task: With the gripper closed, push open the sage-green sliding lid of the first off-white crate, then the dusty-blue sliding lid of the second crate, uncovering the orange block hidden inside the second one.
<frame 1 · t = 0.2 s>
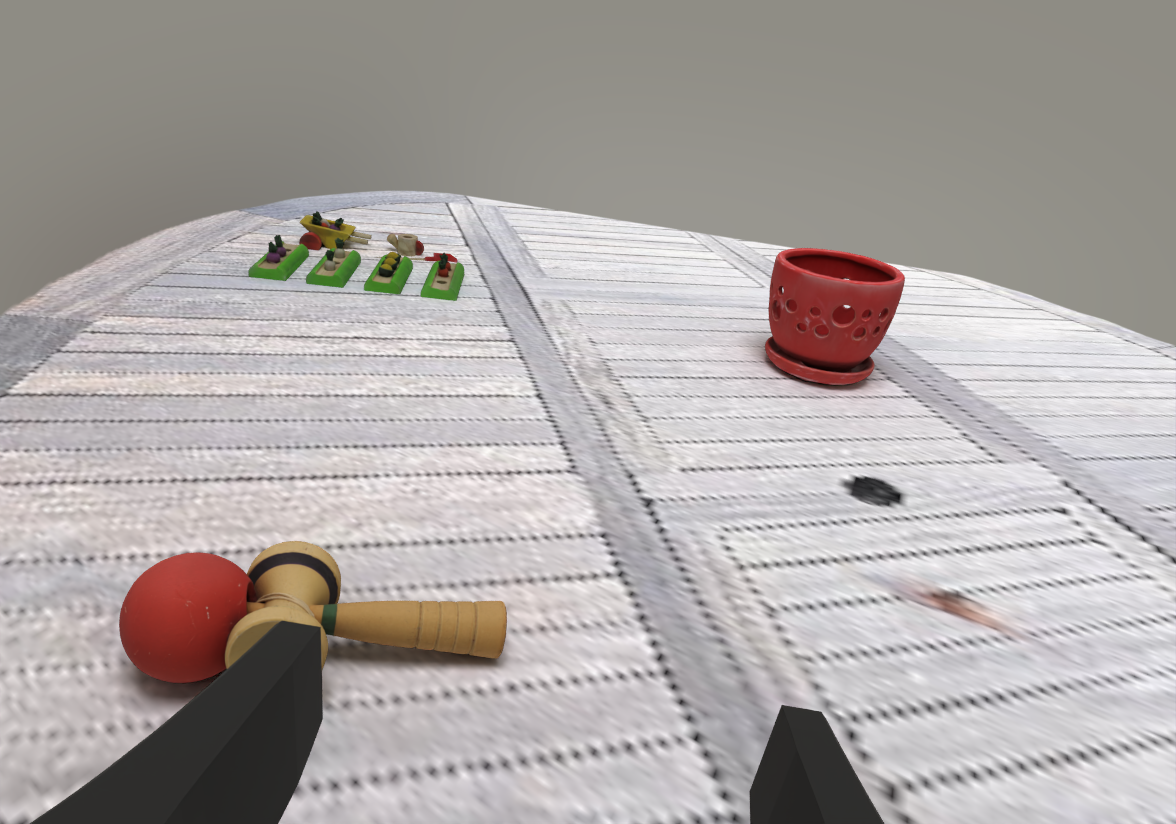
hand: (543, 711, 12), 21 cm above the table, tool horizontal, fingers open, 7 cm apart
kendama: (326, 658, 41), on the table
toy garden set: (369, 270, 97), on the table
plant pot: (810, 369, 87), on the table
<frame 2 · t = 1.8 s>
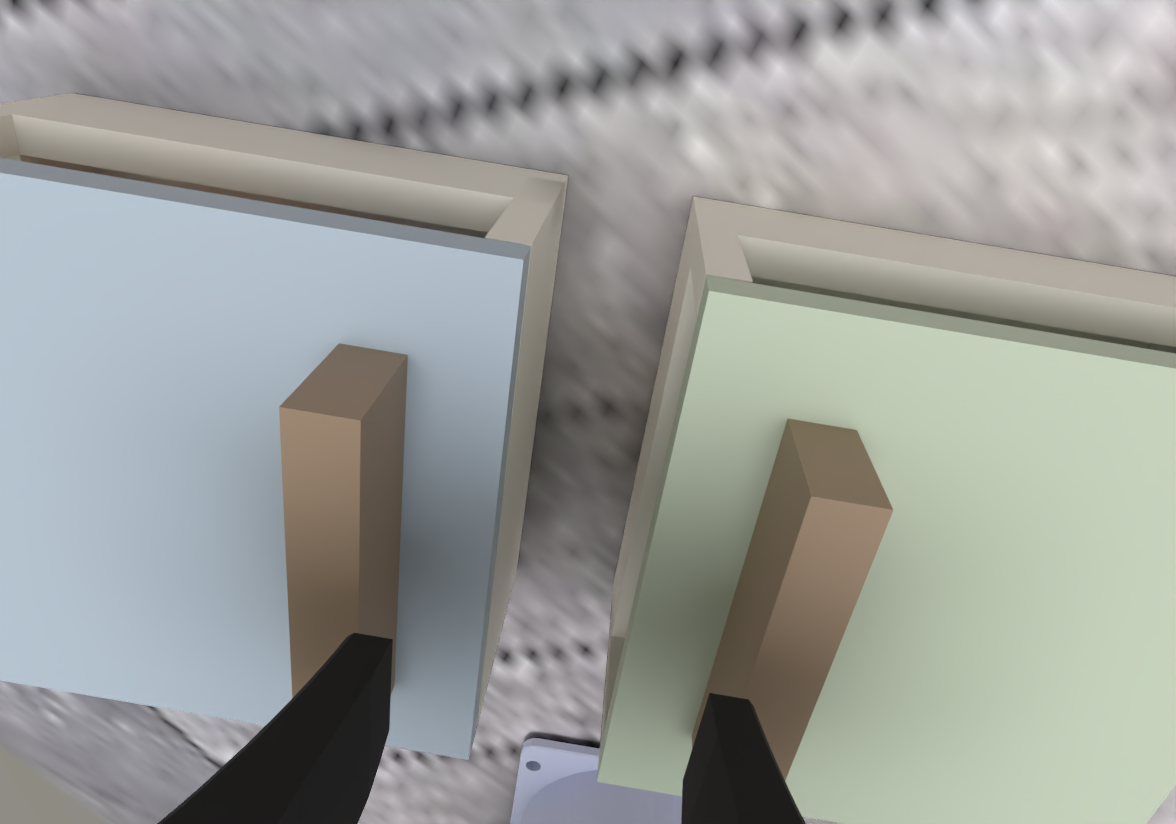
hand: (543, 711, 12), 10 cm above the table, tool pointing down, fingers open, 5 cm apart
crate b: (322, 361, 22), on the table
lid b: (166, 528, 15), point 8 cm above the table, slide at 0.0 cm
crate a: (865, 452, 21), on the table
lid a: (960, 663, 15), point 8 cm above the table, slide at 0.0 cm
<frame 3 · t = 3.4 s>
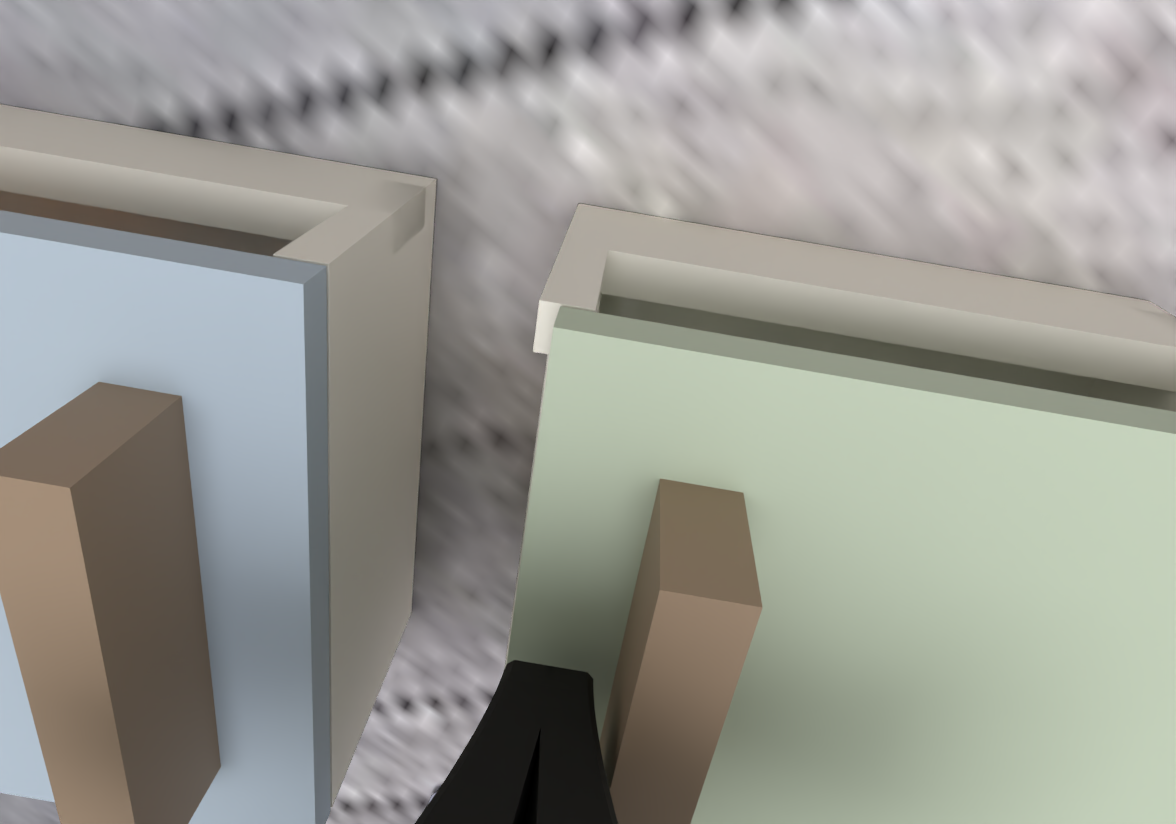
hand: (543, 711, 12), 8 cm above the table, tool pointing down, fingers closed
crate b: (179, 385, 19), on the table
crate a: (786, 490, 19), on the table
lid a: (875, 763, 12), point 8 cm above the table, slide at 0.3 cm, touching gripper
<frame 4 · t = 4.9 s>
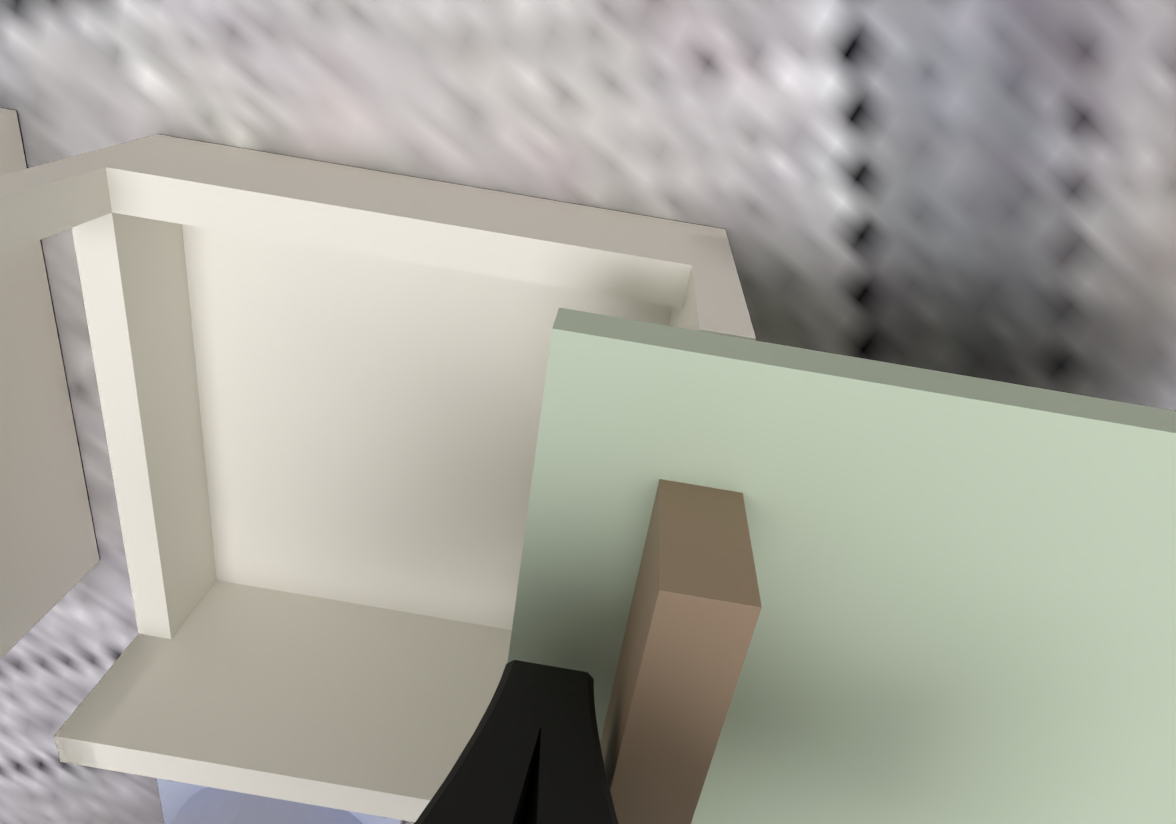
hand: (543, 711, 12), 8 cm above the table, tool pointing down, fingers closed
crate a: (426, 429, 19), on the table
lid a: (875, 762, 12), point 8 cm above the table, slide at 9.2 cm, touching gripper
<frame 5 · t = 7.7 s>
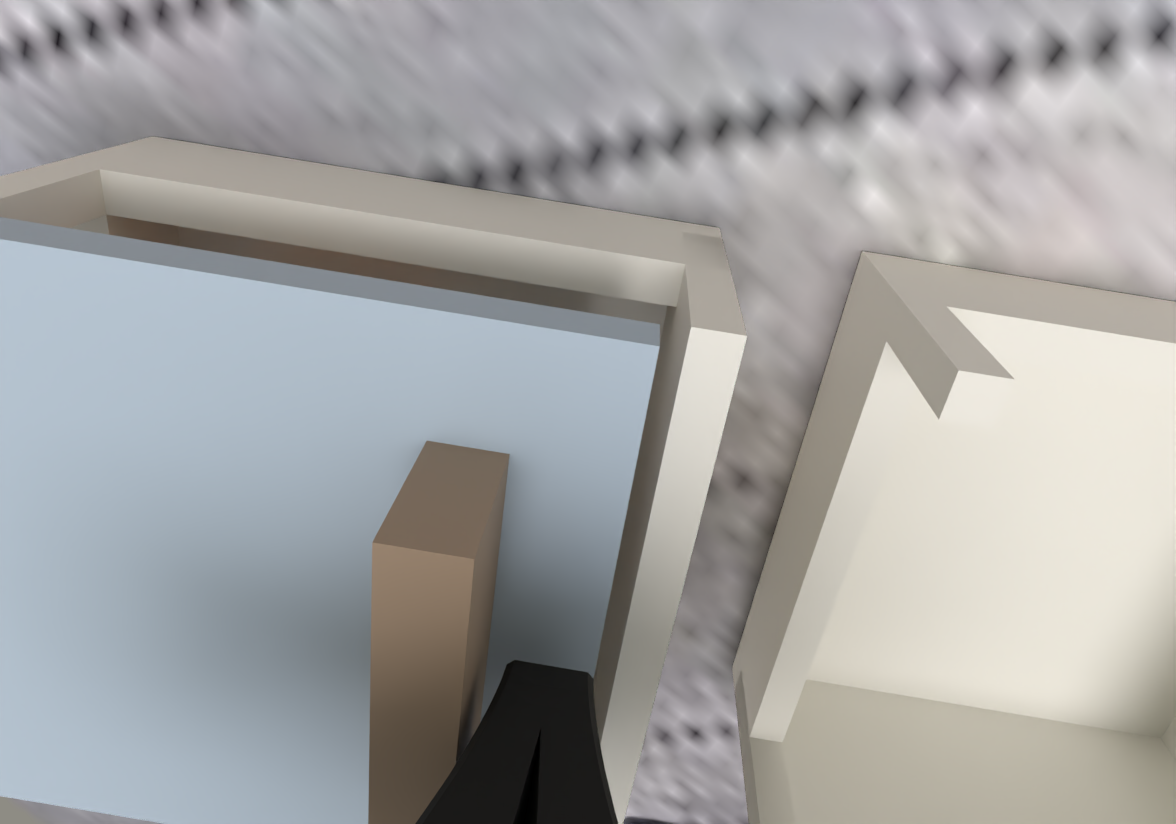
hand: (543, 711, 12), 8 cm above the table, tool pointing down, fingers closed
crate b: (423, 430, 19), on the table
lid b: (215, 651, 12), point 8 cm above the table, slide at 1.3 cm, touching gripper
crate a: (1032, 529, 19), on the table
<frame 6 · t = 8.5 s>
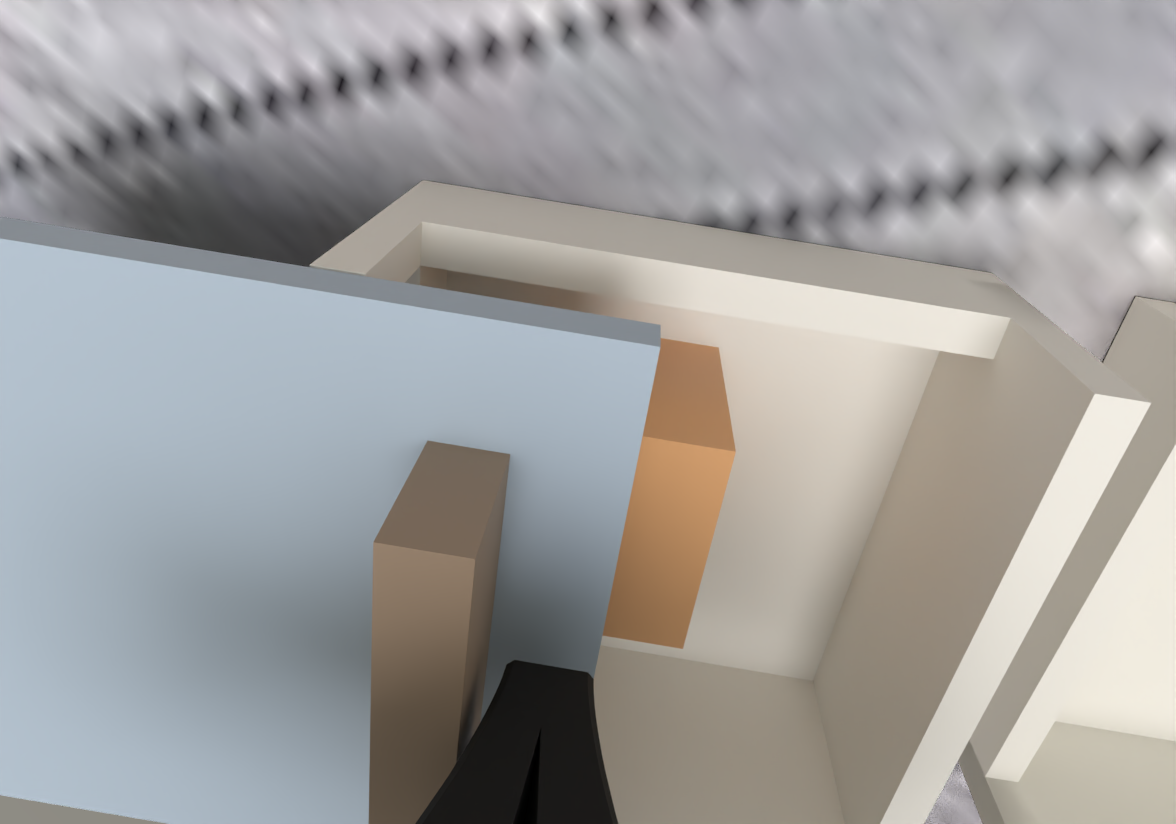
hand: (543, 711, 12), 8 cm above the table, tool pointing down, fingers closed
crate b: (655, 468, 19), on the table
lid b: (215, 651, 12), point 8 cm above the table, slide at 7.0 cm, touching gripper
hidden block: (601, 420, 18), point 1 cm above the table, touching crate b
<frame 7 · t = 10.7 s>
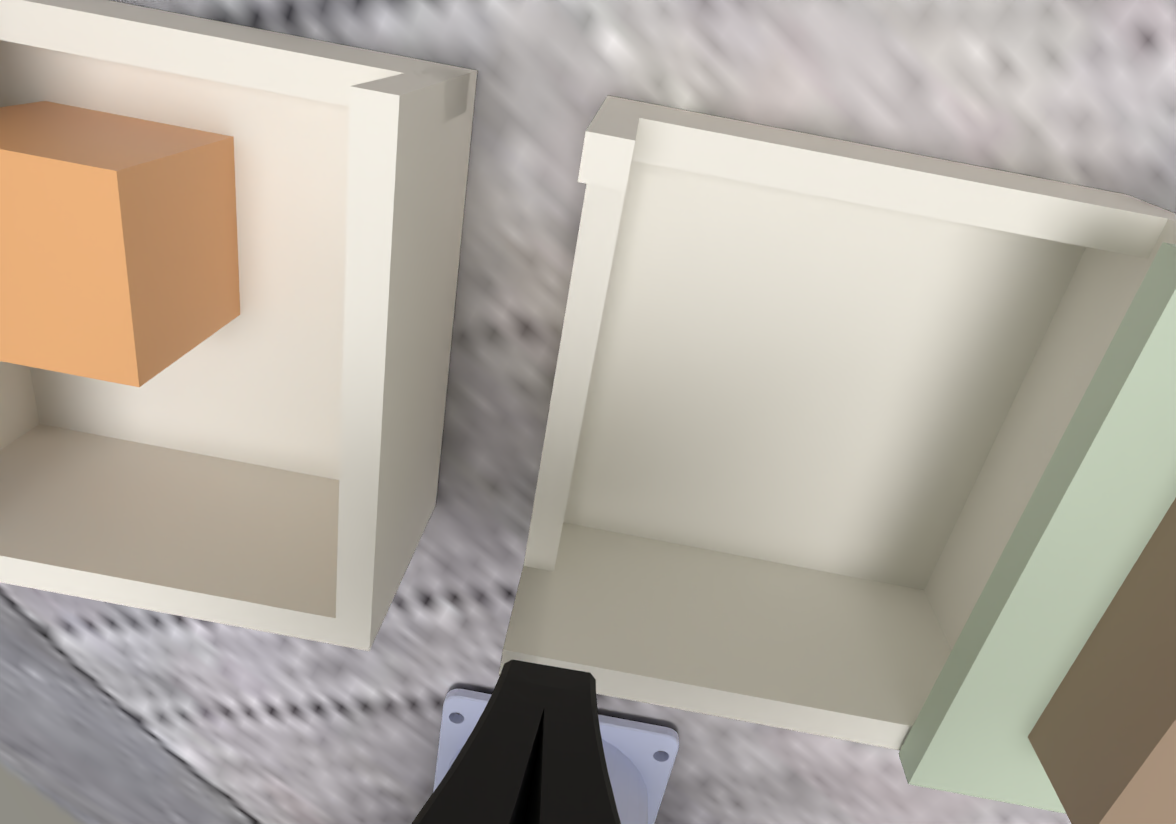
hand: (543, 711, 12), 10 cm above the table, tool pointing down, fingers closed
crate b: (227, 274, 21), on the table
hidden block: (147, 213, 19), point 1 cm above the table, touching crate b
crate a: (792, 380, 21), on the table
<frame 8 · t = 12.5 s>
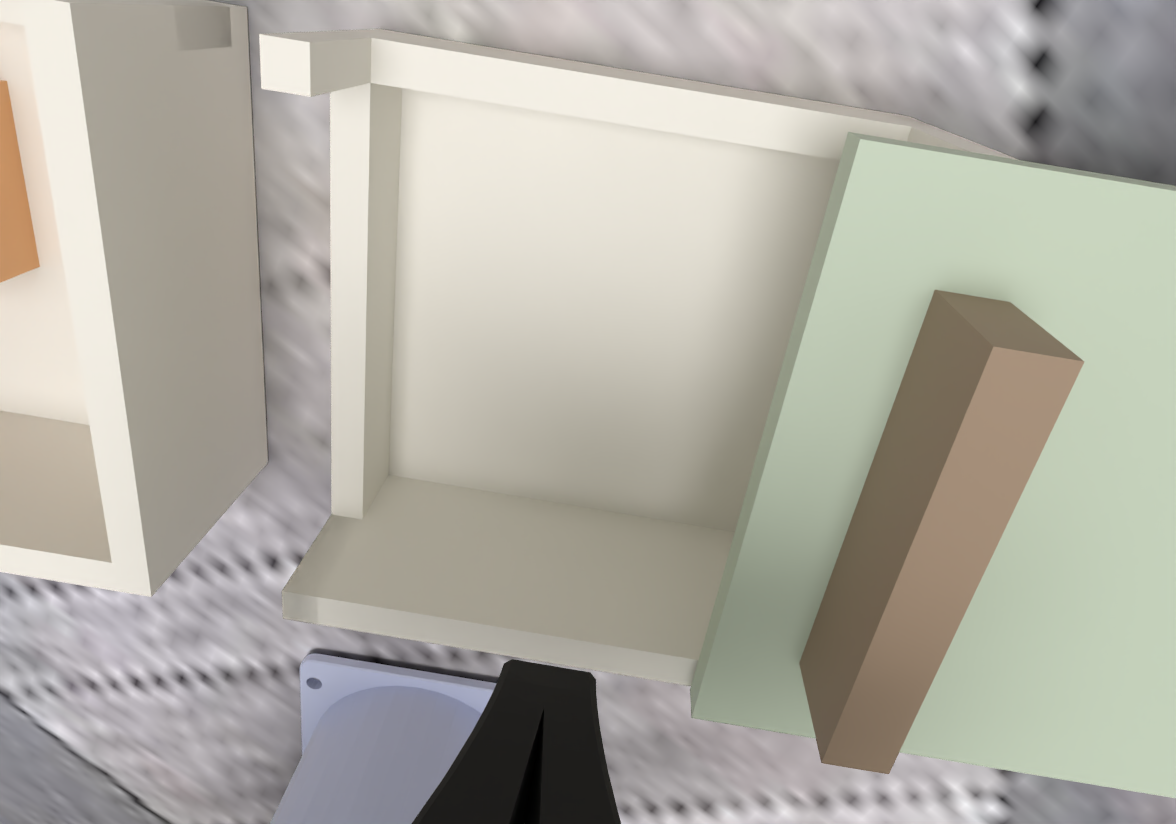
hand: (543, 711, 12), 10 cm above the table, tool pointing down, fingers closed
crate b: (30, 227, 20), on the table
crate a: (602, 321, 20), on the table
lid a: (1111, 566, 13), point 8 cm above the table, slide at 9.3 cm
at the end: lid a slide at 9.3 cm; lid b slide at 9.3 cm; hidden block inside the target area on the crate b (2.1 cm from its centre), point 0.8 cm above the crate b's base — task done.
